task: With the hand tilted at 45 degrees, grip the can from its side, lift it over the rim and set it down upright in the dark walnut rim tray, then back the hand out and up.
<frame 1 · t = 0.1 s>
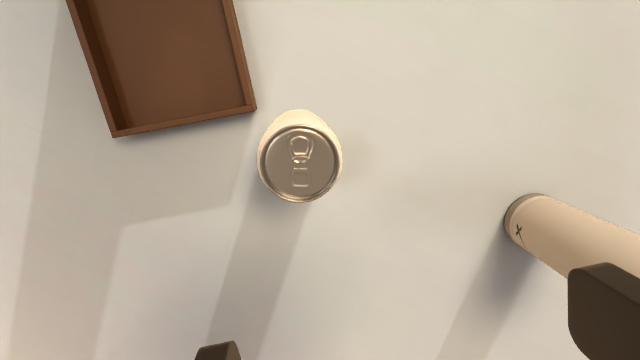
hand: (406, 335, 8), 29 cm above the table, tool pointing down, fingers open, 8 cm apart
can: (298, 140, 37), on the table
tray: (168, 36, 33), on the table
travel mug: (527, 219, 41), on the table
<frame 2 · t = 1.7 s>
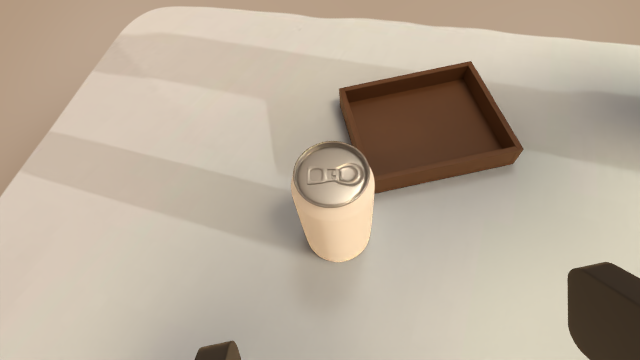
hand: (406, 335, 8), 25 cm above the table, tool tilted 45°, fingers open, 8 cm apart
can: (338, 233, 36), on the table
tray: (419, 131, 41), on the table
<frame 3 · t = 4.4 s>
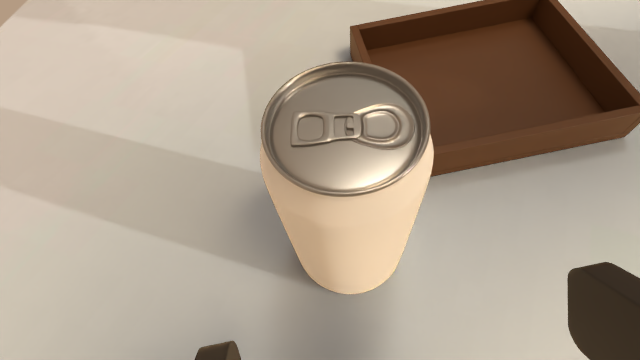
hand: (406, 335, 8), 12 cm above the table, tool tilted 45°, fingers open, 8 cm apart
can: (348, 244, 22), on the table
tray: (471, 91, 27), on the table
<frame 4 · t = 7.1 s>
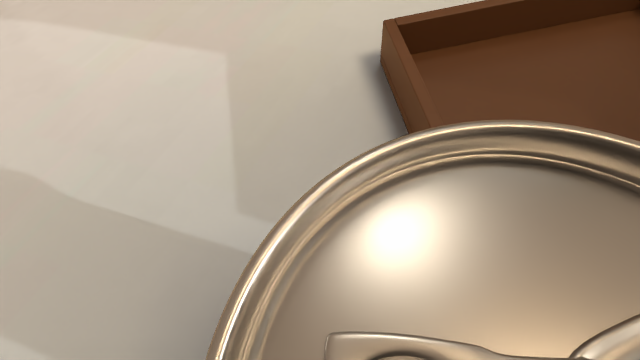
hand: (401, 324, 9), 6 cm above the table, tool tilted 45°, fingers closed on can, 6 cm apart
tray: (569, 117, 18), on the table
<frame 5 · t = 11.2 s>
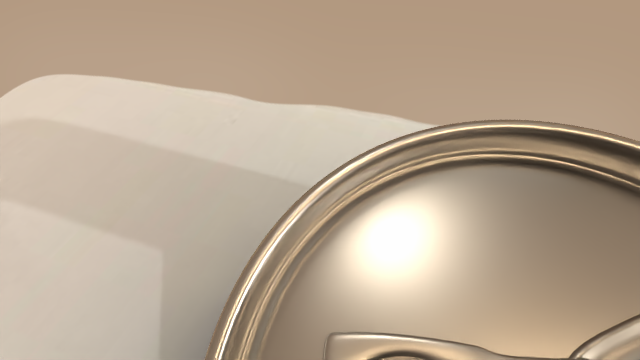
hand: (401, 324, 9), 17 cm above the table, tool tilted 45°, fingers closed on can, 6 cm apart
when the fingers open (6 cm above the table, at t = 15.4 s): can stays where it is, resting on tray.
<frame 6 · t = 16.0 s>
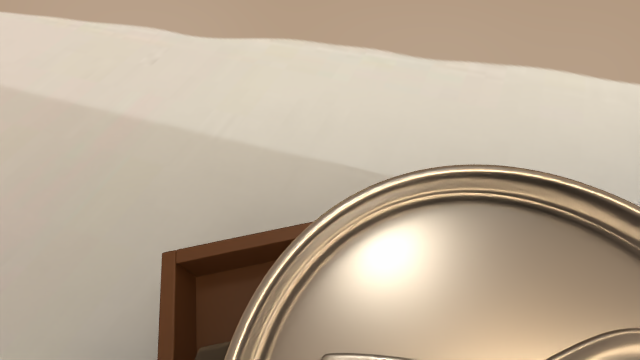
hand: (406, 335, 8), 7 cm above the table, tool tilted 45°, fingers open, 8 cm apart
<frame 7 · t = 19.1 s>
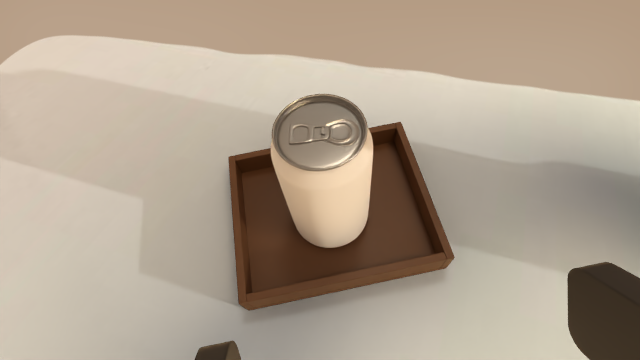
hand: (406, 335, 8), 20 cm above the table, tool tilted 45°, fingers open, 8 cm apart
can: (330, 215, 31), resting on tray
tray: (331, 215, 32), on the table
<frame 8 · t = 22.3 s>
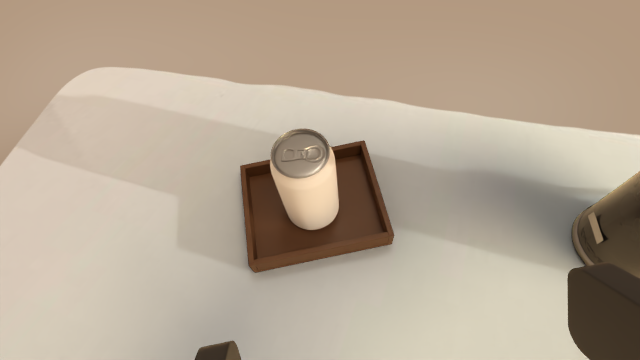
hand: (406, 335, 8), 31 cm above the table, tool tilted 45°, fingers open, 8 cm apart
can: (313, 207, 44), resting on tray
tray: (313, 207, 44), on the table
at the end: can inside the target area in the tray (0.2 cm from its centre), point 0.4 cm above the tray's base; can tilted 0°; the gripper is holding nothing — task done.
